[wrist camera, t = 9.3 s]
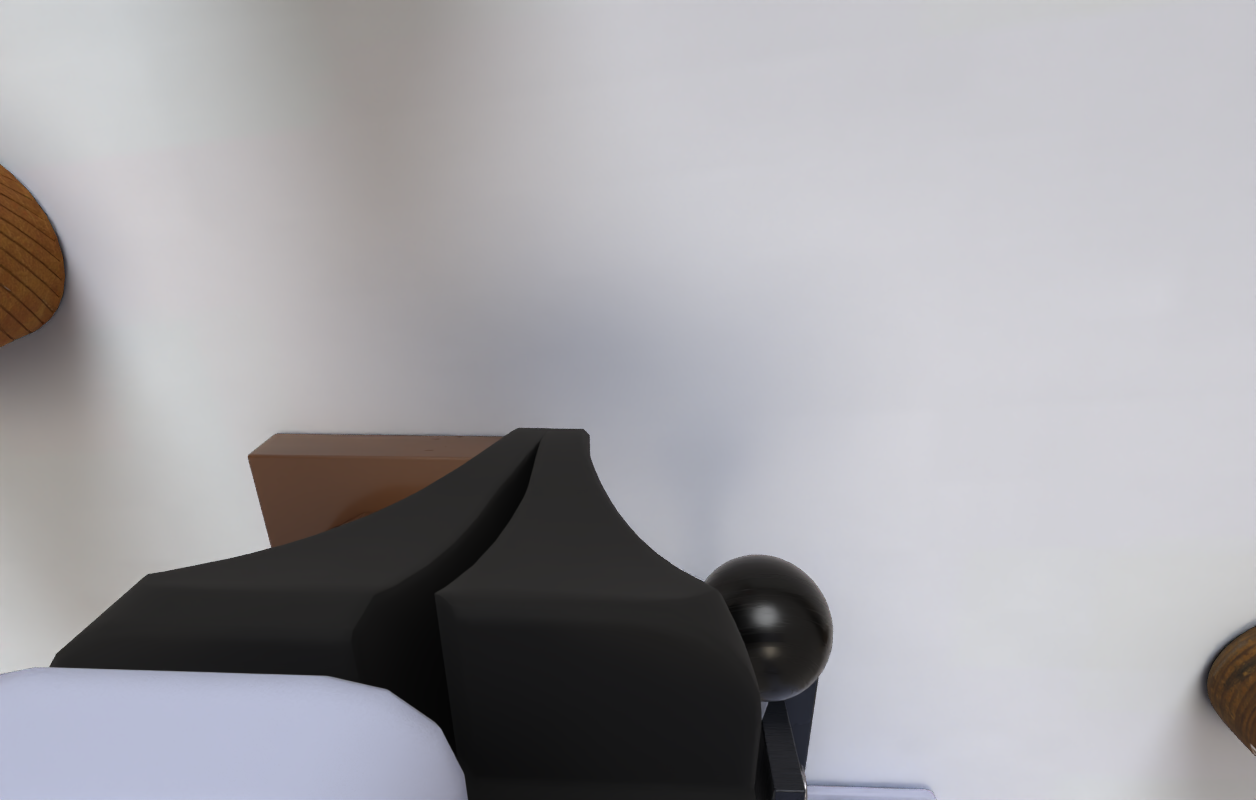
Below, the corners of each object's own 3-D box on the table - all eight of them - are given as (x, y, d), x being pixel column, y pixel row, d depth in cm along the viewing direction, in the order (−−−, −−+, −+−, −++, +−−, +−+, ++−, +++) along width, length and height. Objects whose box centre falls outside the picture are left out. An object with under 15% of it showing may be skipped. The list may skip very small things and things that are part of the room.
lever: (692, 526, 14) (698, 664, 12) (831, 529, 14) (862, 667, 12) (671, 748, 24) (673, 842, 22) (750, 751, 24) (759, 845, 22)
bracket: (607, 590, 24) (594, 719, 19) (819, 594, 24) (868, 727, 19) (611, 774, 28) (601, 925, 23) (794, 780, 28) (828, 934, 22)
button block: (548, 678, 26) (533, 755, 23) (332, 672, 26) (287, 748, 23) (531, 435, 22) (510, 487, 19) (274, 432, 22) (209, 483, 19)
